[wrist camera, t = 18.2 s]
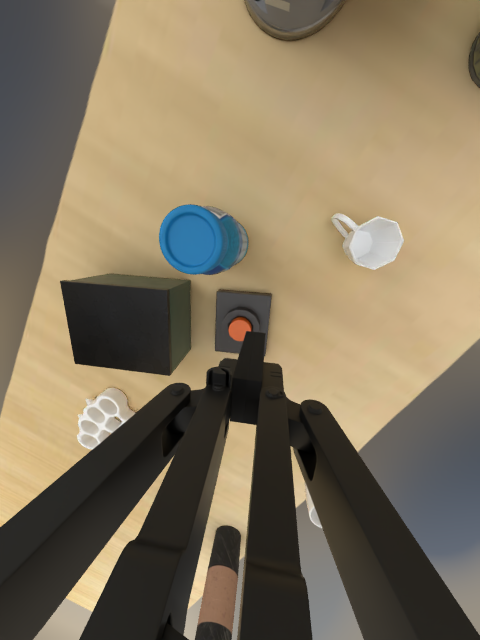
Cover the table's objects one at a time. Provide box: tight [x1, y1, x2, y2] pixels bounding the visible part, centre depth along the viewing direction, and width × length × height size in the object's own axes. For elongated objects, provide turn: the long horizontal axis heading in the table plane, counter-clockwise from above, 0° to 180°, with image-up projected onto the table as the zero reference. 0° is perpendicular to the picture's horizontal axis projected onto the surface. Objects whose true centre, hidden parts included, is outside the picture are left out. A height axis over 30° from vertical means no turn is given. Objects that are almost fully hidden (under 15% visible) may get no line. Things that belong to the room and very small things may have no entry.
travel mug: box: [195, 526, 241, 640], centre depth 56 cm, size 8×8×20 cm
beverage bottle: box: [159, 204, 248, 275], centre depth 32 cm, size 8×8×20 cm
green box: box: [70, 274, 191, 373], centre depth 43 cm, size 17×15×10 cm
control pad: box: [215, 289, 272, 356], centre depth 44 cm, size 12×10×4 cm
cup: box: [331, 213, 404, 270], centre depth 35 cm, size 7×10×8 cm
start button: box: [228, 317, 252, 341], centre depth 42 cm, size 4×4×2 cm
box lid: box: [60, 280, 172, 376], centre depth 38 cm, size 18×15×1 cm
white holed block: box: [77, 388, 136, 449], centre depth 56 cm, size 3×18×15 cm
